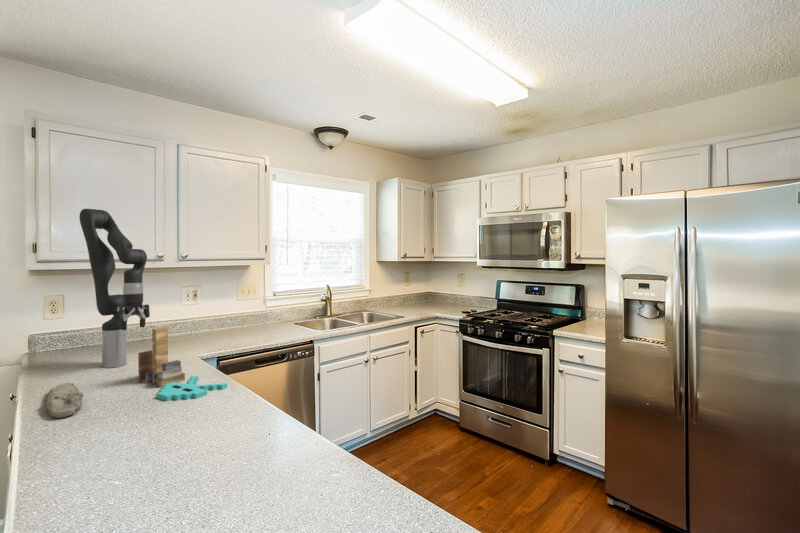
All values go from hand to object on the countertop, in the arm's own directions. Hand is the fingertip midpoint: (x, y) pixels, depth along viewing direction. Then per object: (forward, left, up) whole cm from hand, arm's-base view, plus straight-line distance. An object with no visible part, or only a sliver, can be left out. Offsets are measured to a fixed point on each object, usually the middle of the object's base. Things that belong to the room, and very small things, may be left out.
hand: (133, 328), depth 179 cm
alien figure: (+46, -7, -20) cm, 50 cm away
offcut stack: (+31, -4, -19) cm, 37 cm away
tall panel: (+25, -4, -19) cm, 31 cm away
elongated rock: (+18, -34, -20) cm, 43 cm away
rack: (+23, -4, -19) cm, 30 cm away
